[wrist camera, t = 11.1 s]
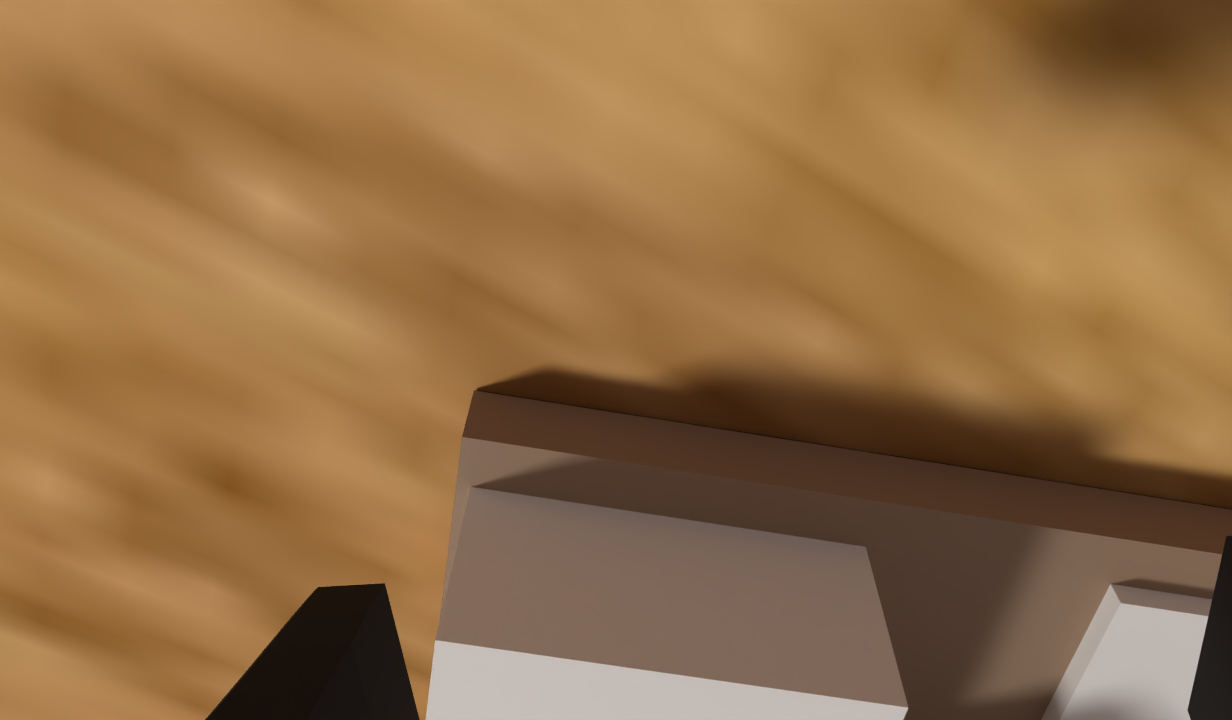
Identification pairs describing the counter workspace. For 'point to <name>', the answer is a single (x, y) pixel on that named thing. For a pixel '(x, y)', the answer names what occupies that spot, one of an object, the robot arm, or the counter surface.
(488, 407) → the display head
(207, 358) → the counter surface
